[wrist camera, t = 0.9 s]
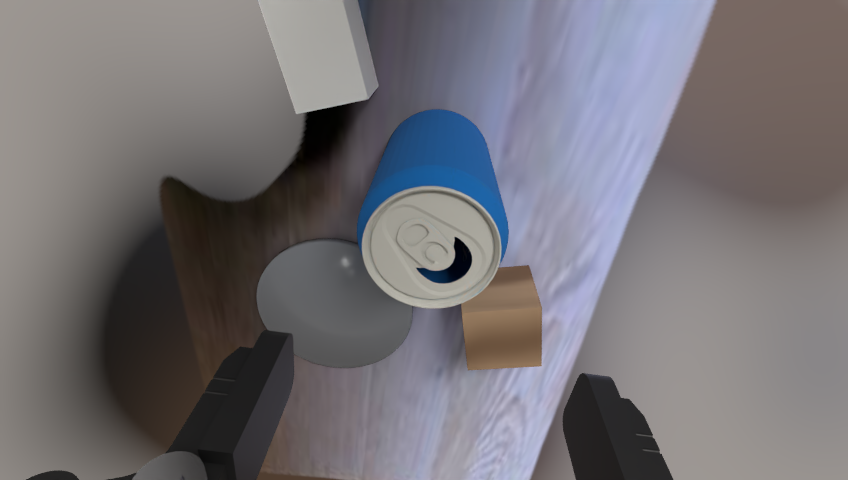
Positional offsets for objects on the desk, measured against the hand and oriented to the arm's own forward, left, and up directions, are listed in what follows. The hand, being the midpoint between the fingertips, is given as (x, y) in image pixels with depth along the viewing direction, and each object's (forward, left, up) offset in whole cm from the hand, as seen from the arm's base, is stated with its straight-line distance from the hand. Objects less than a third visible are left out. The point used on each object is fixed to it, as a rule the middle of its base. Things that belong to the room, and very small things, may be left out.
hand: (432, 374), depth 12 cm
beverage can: (0, 0, -18) cm, 18 cm away
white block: (-6, -7, -18) cm, 21 cm away
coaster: (+13, -6, -18) cm, 23 cm away
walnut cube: (+10, +6, -18) cm, 22 cm away
